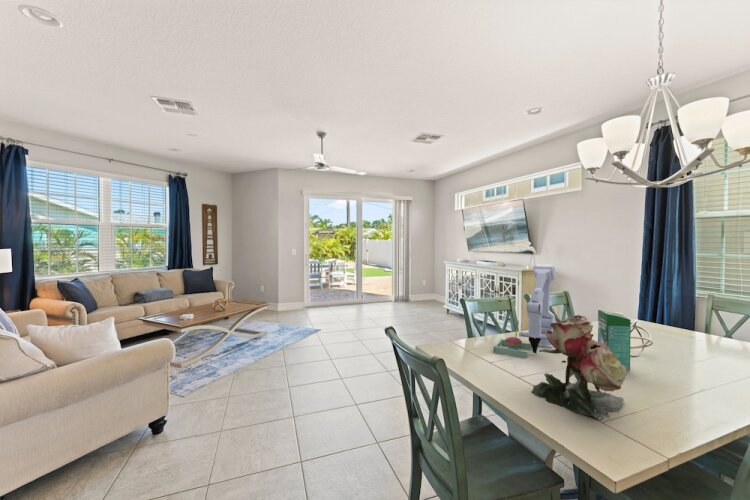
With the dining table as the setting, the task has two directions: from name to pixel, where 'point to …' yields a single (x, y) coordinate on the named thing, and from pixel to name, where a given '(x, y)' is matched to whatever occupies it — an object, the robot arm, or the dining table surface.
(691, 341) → the dining table surface
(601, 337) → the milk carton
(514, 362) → the dining table surface
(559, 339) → the rose bouquet
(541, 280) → the robot arm
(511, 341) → the cupcake
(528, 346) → the mint green u shape
